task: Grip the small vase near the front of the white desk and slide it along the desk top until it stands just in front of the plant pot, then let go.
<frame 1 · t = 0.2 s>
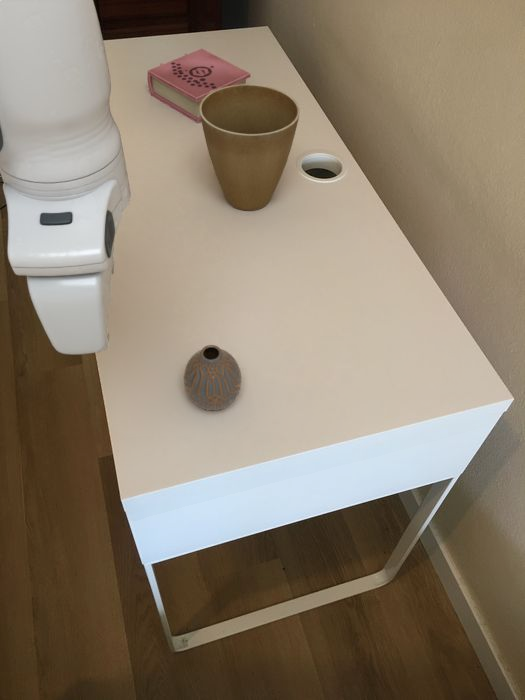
hand: (102, 305, 54), 20 cm above the table, tool pointing down, fingers open, 8 cm apart
plant pot: (248, 197, 98), on the table
vase: (213, 396, 72), on the table
book: (199, 96, 118), on the table
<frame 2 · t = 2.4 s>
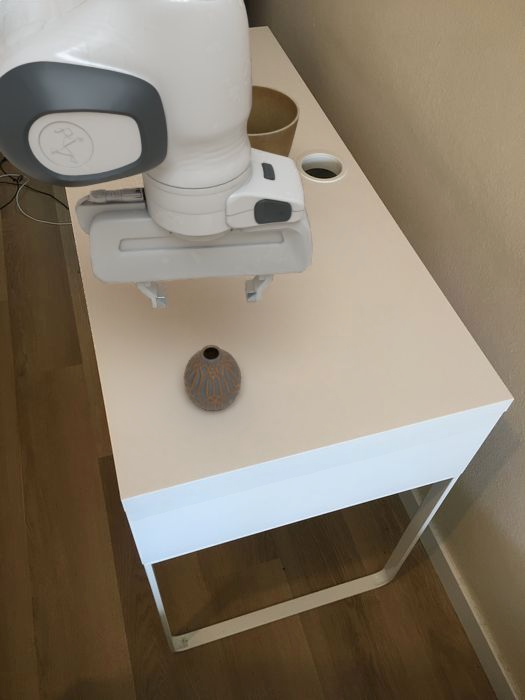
hand: (207, 300, 58), 17 cm above the table, tool pointing down, fingers open, 8 cm apart
nothing on the table moved.
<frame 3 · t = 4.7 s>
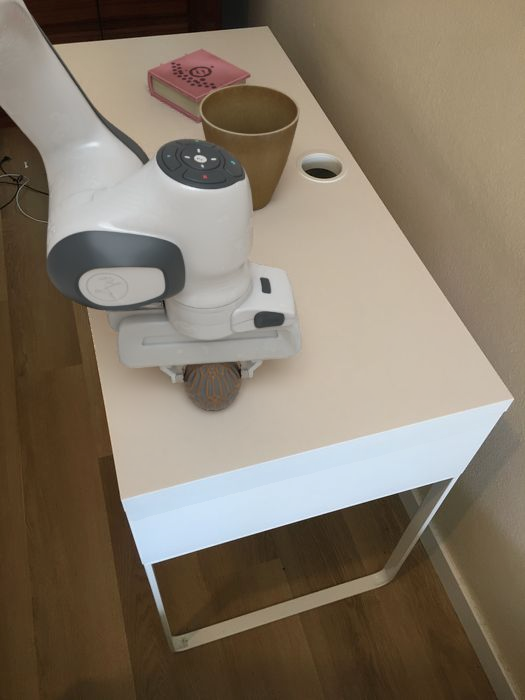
hand: (212, 376, 69), 4 cm above the table, tool pointing down, fingers closed on vase, 7 cm apart
vase: (213, 396, 72), on the table, touching gripper
everything else where it was.
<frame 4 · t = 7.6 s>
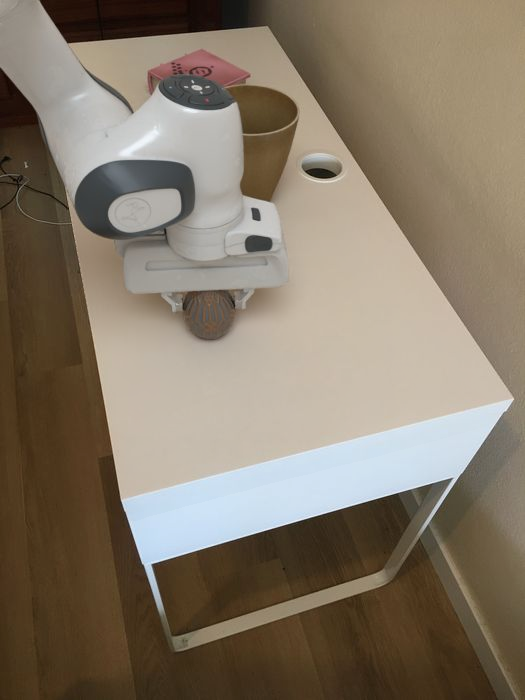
hand: (209, 306, 76), 4 cm above the table, tool pointing down, fingers closed on vase, 7 cm apart
vase: (210, 328, 79), on the table, touching gripper
everything else where it was.
when the fingers open (4 cm above the table, at t = 11.0 s): vase stays where it is, on the table.
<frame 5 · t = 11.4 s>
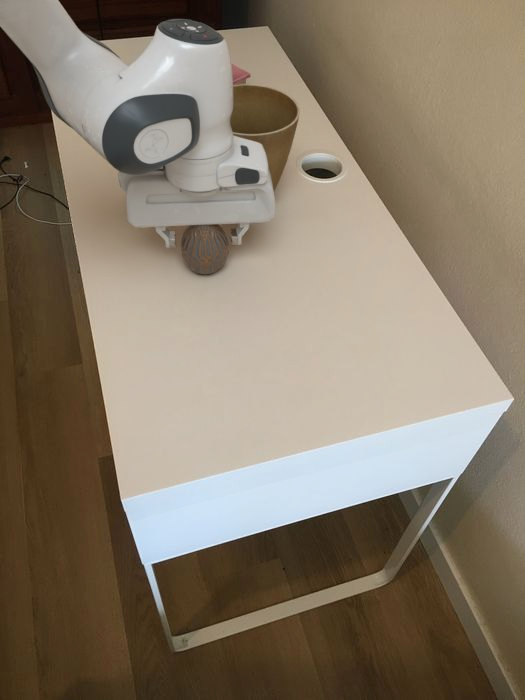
hand: (203, 243, 84), 4 cm above the table, tool pointing down, fingers open, 8 cm apart
vase: (206, 266, 87), on the table
everything else where it was.
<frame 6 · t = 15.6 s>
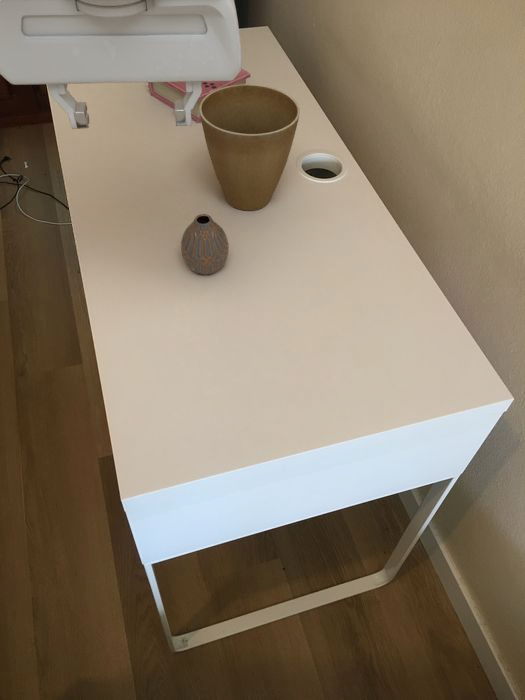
hand: (132, 124, 53), 31 cm above the table, tool pointing down, fingers open, 8 cm apart
nothing on the table moved.
at the end: vase 18.1 cm from the plant pot (horizontally); vase moved 23.7 cm from its start; vase tilted 0° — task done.
